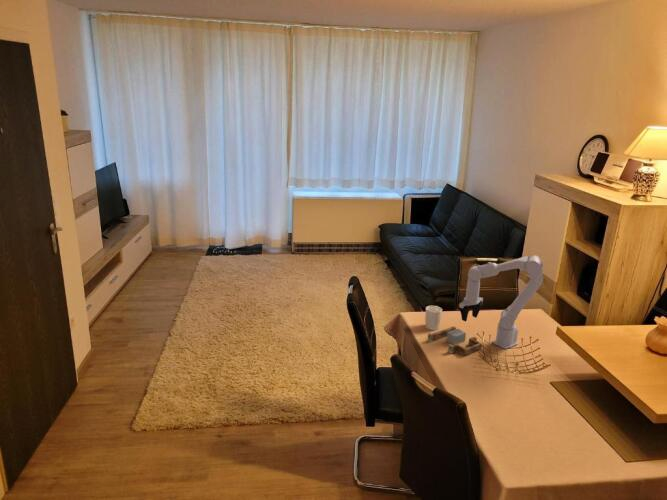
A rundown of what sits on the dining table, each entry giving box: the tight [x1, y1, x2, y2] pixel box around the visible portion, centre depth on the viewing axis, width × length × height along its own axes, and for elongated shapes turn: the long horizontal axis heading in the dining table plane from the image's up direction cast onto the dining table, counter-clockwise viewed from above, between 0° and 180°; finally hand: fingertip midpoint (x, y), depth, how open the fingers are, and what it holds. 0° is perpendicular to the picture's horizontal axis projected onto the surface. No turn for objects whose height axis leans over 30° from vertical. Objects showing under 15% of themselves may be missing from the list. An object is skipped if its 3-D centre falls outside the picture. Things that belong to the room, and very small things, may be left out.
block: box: [446, 328, 467, 345], centre depth 231 cm, size 7×5×4 cm
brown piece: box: [427, 326, 483, 357], centre depth 228 cm, size 17×19×4 cm
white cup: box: [424, 305, 443, 331], centre depth 243 cm, size 8×8×10 cm
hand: (469, 318), depth 233 cm, fingers open, 7 cm apart
